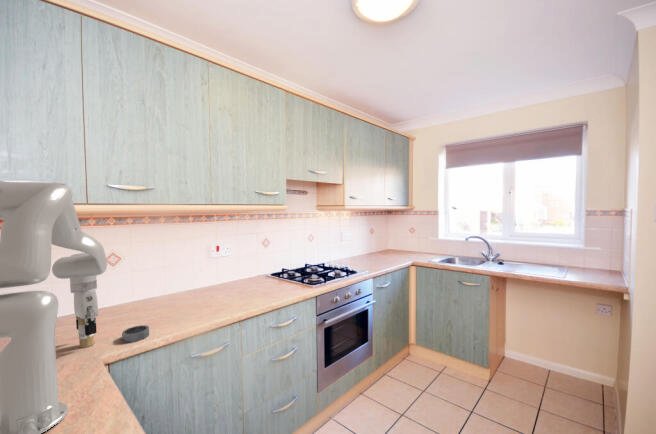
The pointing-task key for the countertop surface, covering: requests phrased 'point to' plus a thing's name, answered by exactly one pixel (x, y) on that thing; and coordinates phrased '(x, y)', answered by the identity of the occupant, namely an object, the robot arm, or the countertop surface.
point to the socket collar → (135, 333)
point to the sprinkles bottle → (83, 339)
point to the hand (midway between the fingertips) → (86, 331)
